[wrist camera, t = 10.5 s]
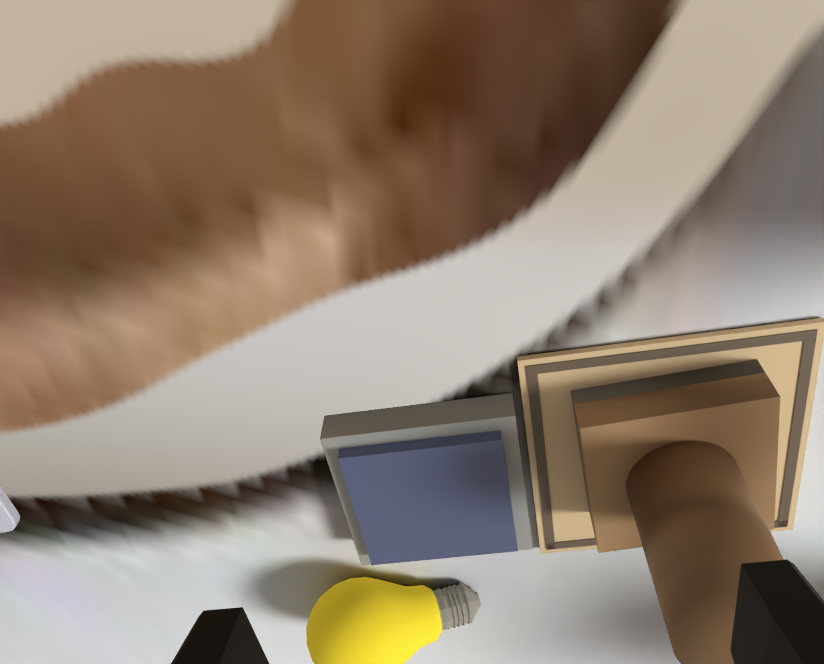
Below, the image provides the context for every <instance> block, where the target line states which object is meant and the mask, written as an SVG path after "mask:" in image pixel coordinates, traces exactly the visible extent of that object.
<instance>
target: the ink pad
mask: <svg viewBox="0 0 824 664" xmlns="http://www.w3.org/2000/svg"><path fill="white" fill-rule="evenodd" d="M320 440H321V443H322V446H323V449H324V452H325V455H326V458H327V461H328V464H329V468H330V471H331V474H332V477H333V480H334V483H335V486H336V489H337V492H338V495H339V498H340V501H341V504H342V507H343V510H344V513H345V516H346V519H347V522H348V526H349V529H350V532H351V535H352V538H353V541H354V544H355V547H356V550H357V553H358V556H359V559H360V562H361V565H370V564H371V565H378V564H388V563H398V562H409V561H419V560H430V559H440V558H450V557H461V556H471V555H481V554H492V553H502V552H513V551H518V550H525V549H533V548H532V540H531V532H530V525H529V517H528V509H527V501H526V493H525V486H524V478H523V470H522V462H521V455H520V447H519V439H518V431H517V424H516V416H515V409H514V402H513V395H512V393H508V394H500V395H492V396H484V397H476V398H467V399H459V400H451V401H443V402H435V403H426V404H418V405H410V406H402V407H393V408H386V409H377V410H369V411H361V412H353V413H345V414H337V415H328V416H325V417H324V422H323V427H322V432H321V438H320Z"/></svg>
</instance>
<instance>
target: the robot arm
mask: <svg viewBox="0 0 824 664" xmlns="http://www.w3.org/2000/svg"><path fill="white" fill-rule="evenodd" d="M19 520H20V515H19V513H18V511H17V510H16V508H15V507H14V505H13V504H12V503H11V501H10V500H9V498H8V497H7V495H6V494H5V492H4V491H3V490H2V488H1V486H0V533H1V532H8V531H12V530H13V529H14V528H15V527H16V525H17V524H18V522H19ZM730 651H731V654H732V658H733V661H734V664H824V600H823V599H822V598H821V597H820V596H819V594H818V593H817V592H816V591H815V590H814V588H813V587H812V586H811V585H810V583H809V582H808V581H807V580H806V579H805V577H804V576H803V575H802V574H801V572H800V571H799V570H798V569H797V567H796V566H795V565H794V564H793V563H791V562H790V561H788V560H776V561H765V562H753V563H742V564H741V569H740V577H739V585H738V593H737V601H736V609H735V617H734V625H733V633H732V641H731V649H730ZM171 664H269V662H268V660H267V658H266V656H265V654H264V652H263V650H262V647H261V645H260V643H259V641H258V639H257V637H256V635H255V633H254V630H253V628H252V626H251V624H250V622H249V620H248V618H247V615H246V613H245V611H244V609H243V607H241V608H230V609H218V610H207V611H203V612H202V613H201V615H200V616H199V617H198V619H197V621H196V622H195V624H194V626H193V627H192V629H191V631H190V632H189V634H188V636H187V638H186V639H185V641H184V643H183V644H182V646H181V648H180V649H179V651H178V653H177V655H176V656H175V658H174V660H173V661H172V663H171Z"/></svg>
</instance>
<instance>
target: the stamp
mask: <svg viewBox="0 0 824 664" xmlns="http://www.w3.org/2000/svg"><path fill="white" fill-rule="evenodd" d="M570 391H571V397H572V404H573V410H574V417H575V423H576V430H577V436H578V443H579V449H580V456H581V462H582V469H583V475H584V482H585V488H586V495H587V501H588V508H589V513H590V518H591V522H592V526H593V531H594V535H595V539H596V544H597V548H598V552H599V553H601V552H608V551H616V550H623V549H630V548H638V547H643V549H644V552H645V556H646V559H647V563H648V566H649V569H650V573H651V576H652V580H653V583H654V586H655V590H656V593H657V596H658V600H659V603H660V607H661V610H662V613H663V617H664V620H665V623H666V627H667V630H668V634H669V637H670V640H671V644H672V647H673V650H674V653H675V656H676V658H677V659H678V660H679V662H680V663H681V664H734V661H733V658H732V654H731V651H730V649H731V641H732V633H733V625H734V617H735V609H736V601H737V593H738V585H739V577H740V569H741V564H742V563H753V562H765V561H776V560H784V559H783V557H782V555H781V553H780V551H779V549H778V547H777V545H776V543H775V541H774V539H773V537H772V535H771V533H770V531H769V530H771V529H774V522H775V501H776V479H777V458H778V436H779V415H780V395H779V394H778V392H777V390H776V389H775V387H774V386H773V384H772V382H771V381H770V379H769V377H768V376H767V374H766V373H765V371H764V369H763V368H762V366H761V365H760V363H759V361H758V360H757V359H754V360H748V361H742V362H737V363H731V364H725V365H719V366H713V367H707V368H701V369H695V370H689V371H683V372H677V373H671V374H665V375H659V376H654V377H648V378H642V379H636V380H630V381H624V382H618V383H612V384H606V385H600V386H594V387H588V388H582V389H576V390H570Z"/></svg>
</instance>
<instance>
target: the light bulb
mask: <svg viewBox="0 0 824 664" xmlns="http://www.w3.org/2000/svg"><path fill="white" fill-rule="evenodd" d="M479 607H480V600H479V597H478V594H477V592H474V591H473V590H471V589H470V588H468V587H467V586H465V585H464V584H463V583H458V585H454V584H453V585H452V586H450V585H449V586H447V588H446V587H443V589H440V588H439V589H436V590H434V591H433V590H431V589H430V588H428V587H426V586H424V585H419V586H402V585H398V584H395V583H391V582H387V581H383V580H378V579H373V578H368V577H360V578H349V579H347V580H344V581H342V582H340V583H337V584H335V585H333V586H332V587H331V588H330V589H328V590H327V591H326V592H325V593H324V594H323V595H321V596H320V598H319V599H318V601H317V603H316V604H315V606H314V607H313V609H312V610H311V613H310V617H309V620H308V624H307V627H306V628H307V646H308V649H309V652H310V655H311V658H312V661H313V662H314V663H315V664H404V663H405V662H406V661H407V660H408V659H409V658H410V657H411V656H412V655H413V654H414V653H415V652H416V651H417V650H418V649H419V648H421V647H423V646H425V645H427V644H429V643H431V642H434V641H436V640H437V638H438V637H439V635H440V634H441V632H442V630H443V629H450V627H453V628H455V627H456V625H457V626H460V624H461V625H464V624H465V623H472V621H473V619H474V617H475V615H476V613H477V611H478V608H479Z"/></svg>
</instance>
